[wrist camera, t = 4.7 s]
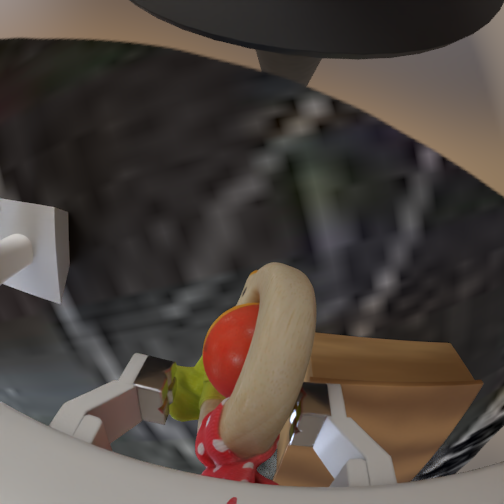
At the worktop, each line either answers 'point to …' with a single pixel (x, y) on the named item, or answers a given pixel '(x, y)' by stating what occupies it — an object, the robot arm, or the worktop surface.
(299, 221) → the worktop surface
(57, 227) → the figurine
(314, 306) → the bird rattle
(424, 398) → the wooden block
